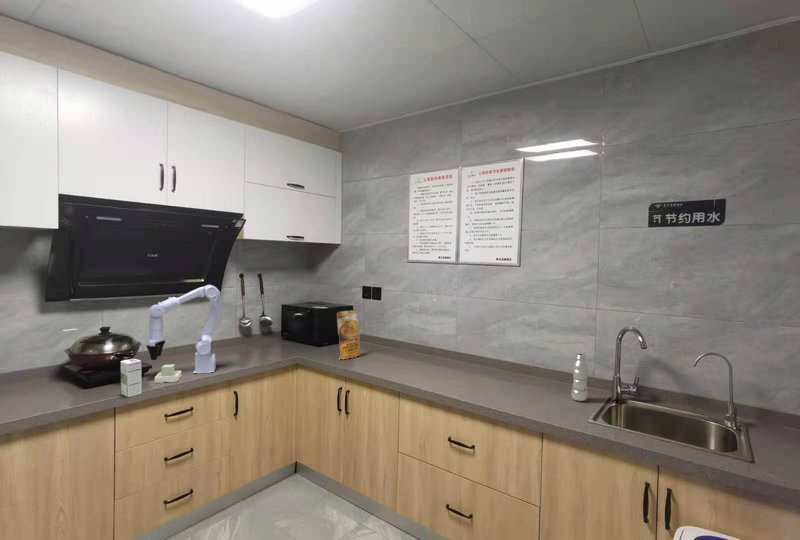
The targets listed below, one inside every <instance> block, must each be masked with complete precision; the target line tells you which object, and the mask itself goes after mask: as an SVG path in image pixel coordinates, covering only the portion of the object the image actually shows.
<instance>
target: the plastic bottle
mask: <svg viewBox="0 0 800 540" xmlns="http://www.w3.org/2000/svg"><path fill="white" fill-rule="evenodd" d="M586 359H587V358H586V354H585V353H576V357H575V360H574V362H573V363H572V374H573V376H572V377H573V382H572V388H571V392H570V393H571V398H572V399H573V400H574V401H577V402H585V401H586V400H587V399H588V396H589V395H588V387H587V386H588V385H587V384H588V383H587V381H588V373H589V365H588V362H586Z"/></svg>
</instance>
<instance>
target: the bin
mask: <svg viewBox="0 0 800 540" xmlns="http://www.w3.org/2000/svg"><path fill="white" fill-rule="evenodd" d="M180 377H181V378H182V370H175V376H163V377H162V371H159V372H158V373H157V374H156V376H154V384H155V383H160V384H164V383H163V382H175V381H178V380H179V381H180V379H181V378H180ZM179 378H180V379H179ZM179 381H178V382H179Z"/></svg>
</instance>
